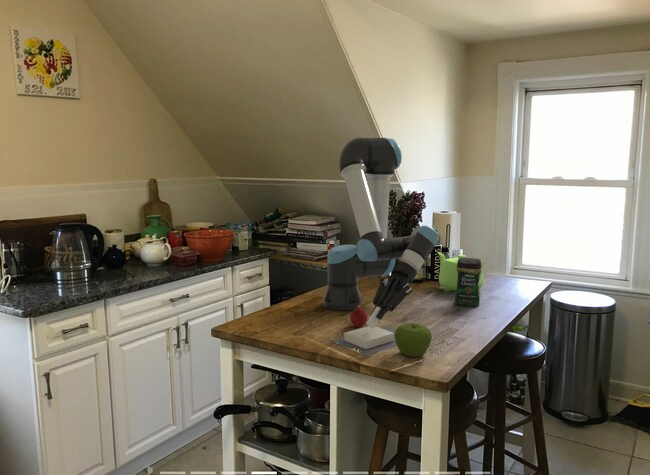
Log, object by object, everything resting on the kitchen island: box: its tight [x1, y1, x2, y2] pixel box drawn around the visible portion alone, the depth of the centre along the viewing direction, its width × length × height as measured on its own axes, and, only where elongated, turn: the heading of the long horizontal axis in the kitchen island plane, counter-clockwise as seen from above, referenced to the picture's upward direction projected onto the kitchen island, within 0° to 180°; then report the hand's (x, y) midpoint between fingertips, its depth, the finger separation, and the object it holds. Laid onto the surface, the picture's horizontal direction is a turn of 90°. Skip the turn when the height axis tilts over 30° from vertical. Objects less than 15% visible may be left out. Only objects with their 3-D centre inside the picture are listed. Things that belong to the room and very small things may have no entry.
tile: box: [343, 325, 394, 349], centre depth 170 cm, size 3×10×12 cm
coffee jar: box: [454, 257, 483, 307], centre depth 213 cm, size 10×8×19 cm
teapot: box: [437, 251, 485, 293], centre depth 236 cm, size 25×22×16 cm
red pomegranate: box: [349, 305, 369, 329], centre depth 184 cm, size 6×6×8 cm
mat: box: [331, 325, 398, 357], centre depth 172 cm, size 24×16×1 cm, turn 129°
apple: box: [394, 322, 433, 358], centre depth 159 cm, size 11×10×10 cm
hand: (369, 326), depth 170 cm, fingers closed
